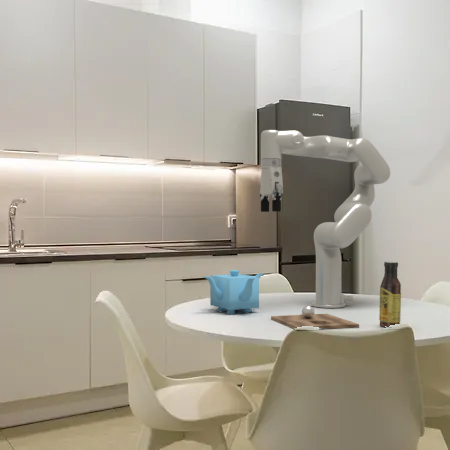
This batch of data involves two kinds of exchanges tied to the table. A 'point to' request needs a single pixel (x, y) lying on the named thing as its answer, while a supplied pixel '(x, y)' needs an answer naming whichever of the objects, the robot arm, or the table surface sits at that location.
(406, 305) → the table surface
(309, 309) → the steel ball
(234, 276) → the teakettle
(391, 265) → the sauce bottle
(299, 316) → the walnut board
